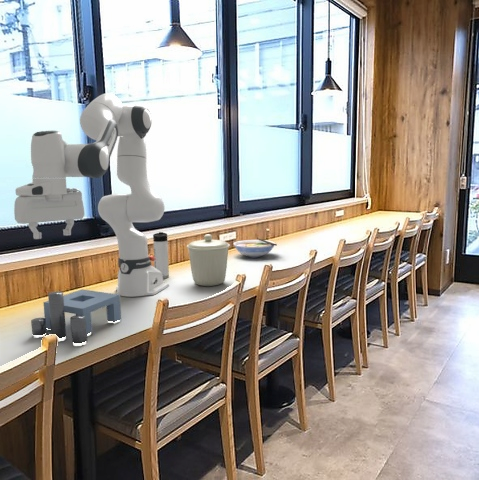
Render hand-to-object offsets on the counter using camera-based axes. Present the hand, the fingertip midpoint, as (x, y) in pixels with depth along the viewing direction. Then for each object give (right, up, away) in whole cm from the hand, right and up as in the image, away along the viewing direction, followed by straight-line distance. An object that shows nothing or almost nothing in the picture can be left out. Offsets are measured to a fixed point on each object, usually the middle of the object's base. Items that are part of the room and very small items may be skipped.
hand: (52, 237), depth 134 cm
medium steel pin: (+8, -30, -2) cm, 32 cm away
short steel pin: (-6, -30, +5) cm, 31 cm away
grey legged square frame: (+5, -28, +13) cm, 31 cm away
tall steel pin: (+1, -30, +2) cm, 30 cm away
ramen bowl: (+62, -10, +120) cm, 135 cm away
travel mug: (+19, -18, +76) cm, 80 cm away
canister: (+41, -19, +64) cm, 78 cm away
